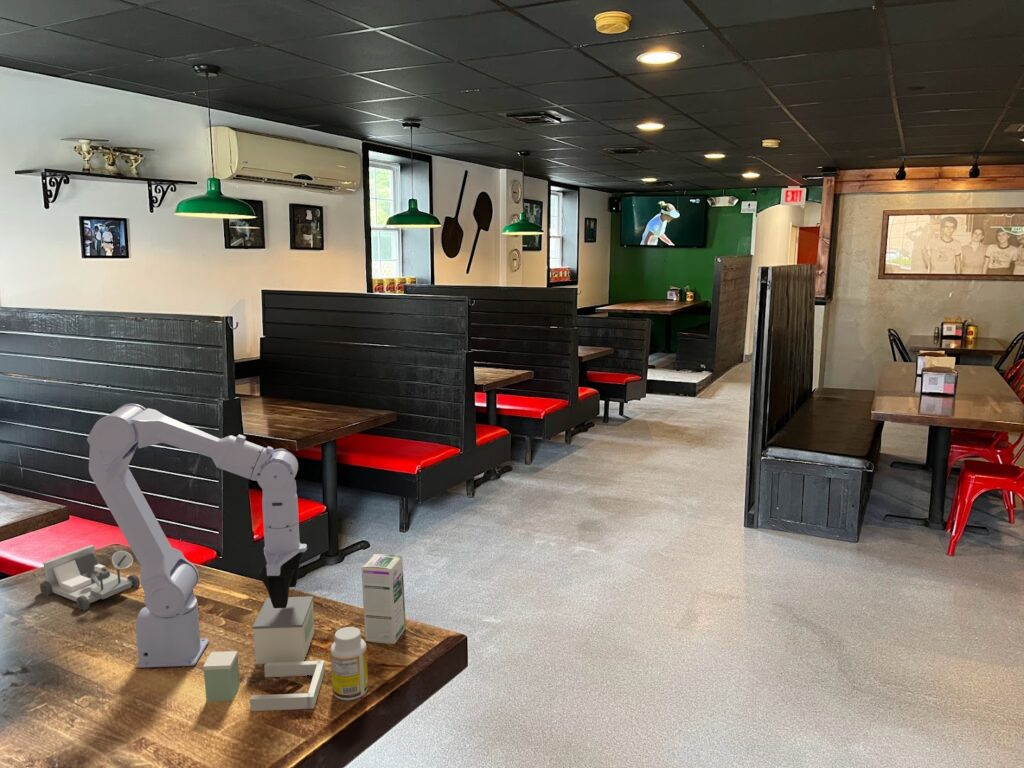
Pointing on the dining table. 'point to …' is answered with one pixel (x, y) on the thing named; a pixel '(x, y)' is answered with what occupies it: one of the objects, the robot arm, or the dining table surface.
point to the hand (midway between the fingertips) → (285, 596)
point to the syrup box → (383, 598)
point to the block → (221, 676)
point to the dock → (290, 699)
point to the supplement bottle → (349, 664)
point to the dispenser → (284, 631)
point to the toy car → (86, 576)
